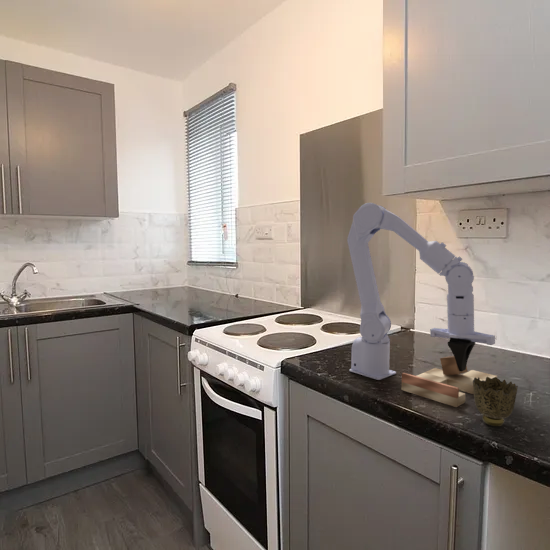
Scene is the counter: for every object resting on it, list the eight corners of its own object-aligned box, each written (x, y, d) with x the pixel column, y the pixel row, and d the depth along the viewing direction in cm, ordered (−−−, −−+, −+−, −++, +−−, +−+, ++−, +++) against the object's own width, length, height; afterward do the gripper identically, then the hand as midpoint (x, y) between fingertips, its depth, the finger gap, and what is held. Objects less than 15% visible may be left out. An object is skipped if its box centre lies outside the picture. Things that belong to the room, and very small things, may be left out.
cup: (500, 414, 80) (502, 375, 80) (524, 432, 73) (526, 389, 72) (464, 415, 80) (465, 376, 79) (484, 432, 73) (486, 390, 72)
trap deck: (401, 389, 94) (401, 373, 93) (445, 370, 107) (445, 356, 107) (456, 407, 84) (457, 388, 84) (496, 383, 98) (497, 367, 97)
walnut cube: (443, 374, 98) (440, 358, 99) (452, 372, 100) (449, 356, 101) (458, 374, 95) (454, 357, 96) (467, 371, 97) (464, 355, 98)
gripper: (423, 313, 98) (424, 367, 99) (485, 319, 87) (486, 380, 88) (437, 309, 103) (439, 361, 103) (498, 314, 91) (499, 373, 92)
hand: (461, 370), depth 96 cm, fingers closed, pressing on walnut cube
